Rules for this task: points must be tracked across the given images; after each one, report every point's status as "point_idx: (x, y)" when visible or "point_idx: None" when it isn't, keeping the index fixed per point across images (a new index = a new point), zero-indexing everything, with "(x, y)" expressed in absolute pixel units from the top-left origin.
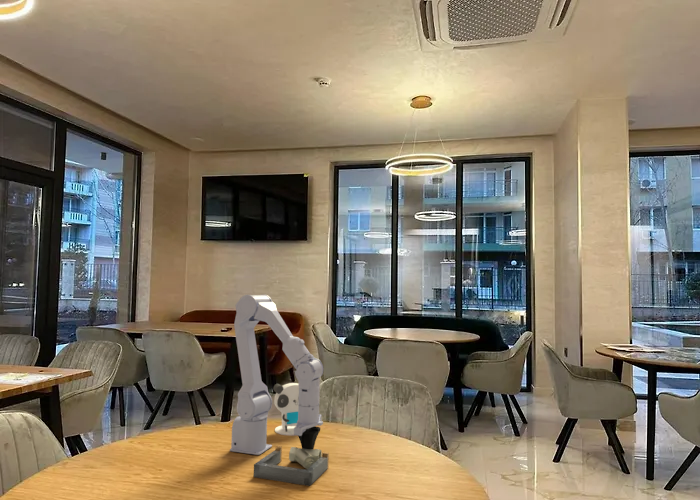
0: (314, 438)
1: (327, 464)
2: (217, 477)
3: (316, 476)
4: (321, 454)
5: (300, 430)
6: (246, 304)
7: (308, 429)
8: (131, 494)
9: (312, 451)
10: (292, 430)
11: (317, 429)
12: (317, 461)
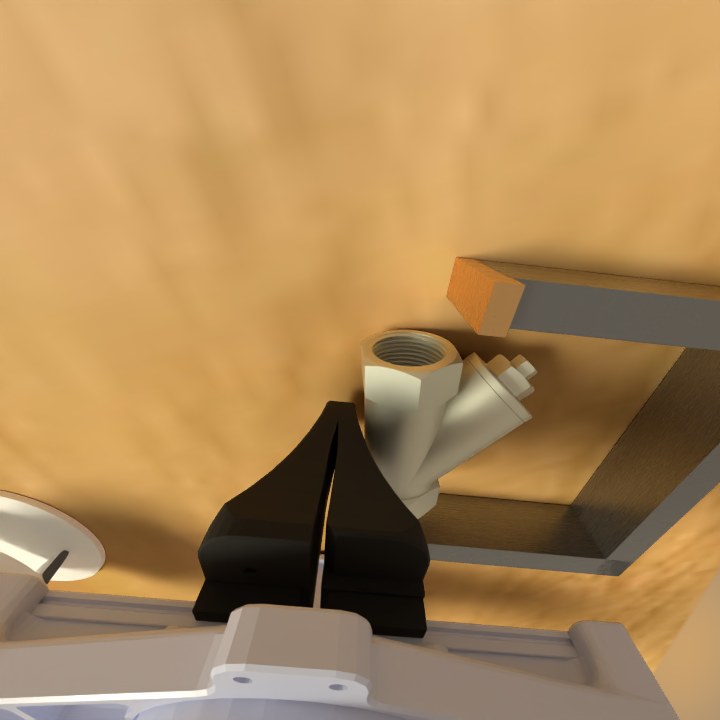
0: (340, 477)
1: (486, 265)
2: (573, 586)
3: (688, 285)
4: (367, 348)
5: (673, 716)
6: None
7: (398, 617)
8: (662, 658)
9: (431, 413)
10: (34, 538)
11: (310, 549)
12: (626, 330)
